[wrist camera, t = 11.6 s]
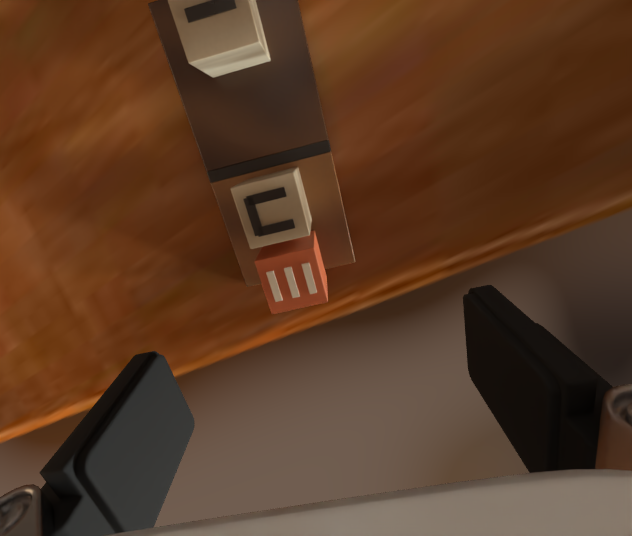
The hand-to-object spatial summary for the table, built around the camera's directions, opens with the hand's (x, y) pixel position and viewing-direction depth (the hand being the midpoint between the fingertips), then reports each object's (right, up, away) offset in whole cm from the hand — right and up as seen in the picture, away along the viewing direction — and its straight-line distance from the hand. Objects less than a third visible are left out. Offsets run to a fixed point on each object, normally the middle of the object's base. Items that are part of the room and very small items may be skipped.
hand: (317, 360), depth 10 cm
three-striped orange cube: (-2, +3, +16) cm, 17 cm away
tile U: (-3, +8, +15) cm, 17 cm away
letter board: (-4, +11, +14) cm, 18 cm away
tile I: (-5, +18, +11) cm, 21 cm away
